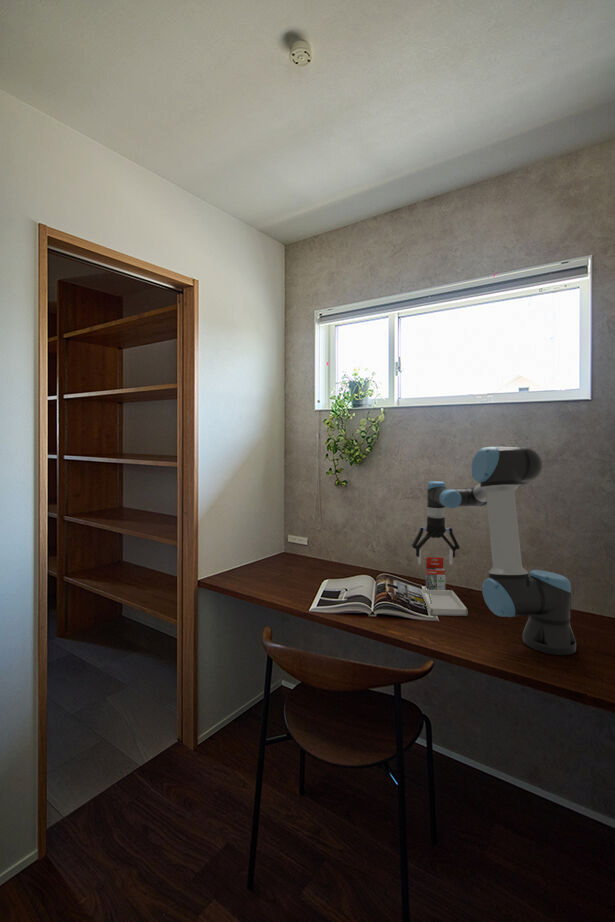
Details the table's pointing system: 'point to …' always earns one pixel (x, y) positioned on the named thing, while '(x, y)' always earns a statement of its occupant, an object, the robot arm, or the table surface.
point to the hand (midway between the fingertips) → (435, 564)
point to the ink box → (435, 574)
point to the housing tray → (444, 603)
